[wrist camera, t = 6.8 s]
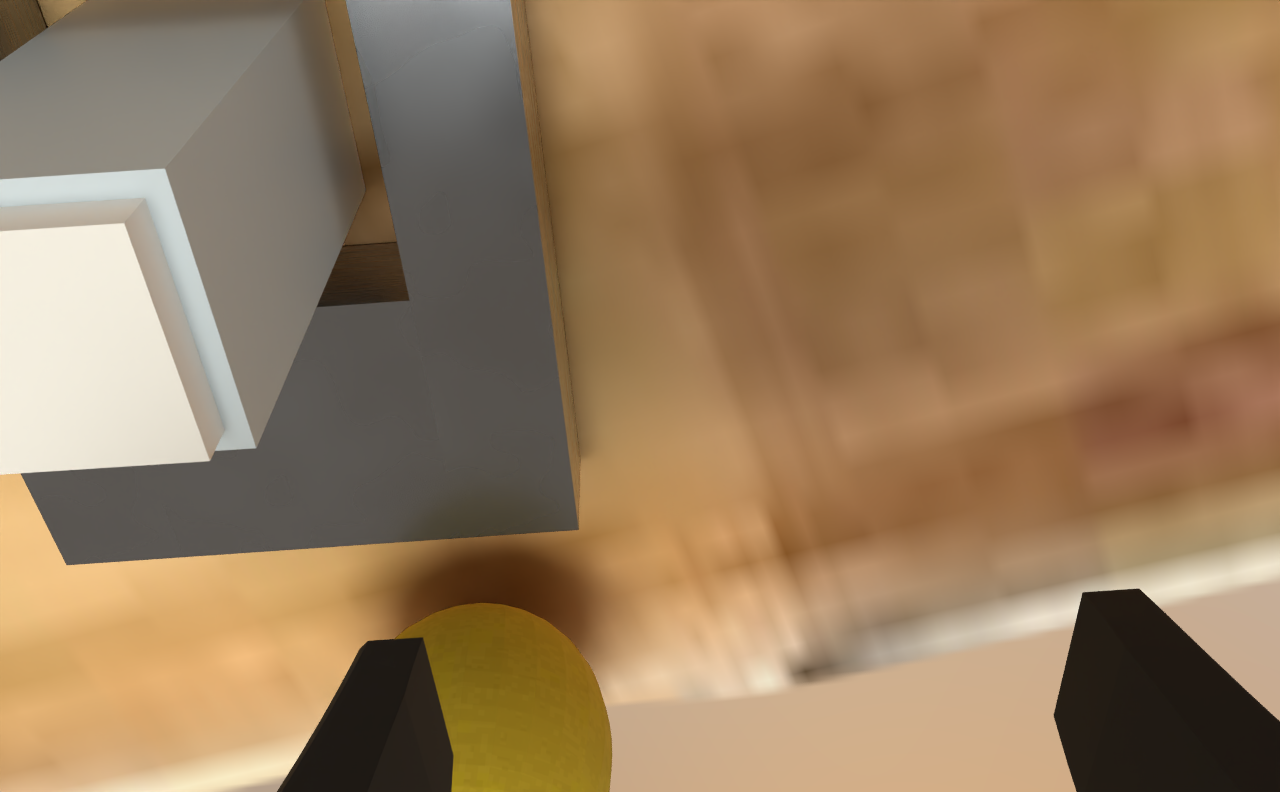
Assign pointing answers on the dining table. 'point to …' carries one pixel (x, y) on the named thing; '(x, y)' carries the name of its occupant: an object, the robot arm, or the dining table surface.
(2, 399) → the plug
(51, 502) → the port panel
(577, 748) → the lemon
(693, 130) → the dining table surface
